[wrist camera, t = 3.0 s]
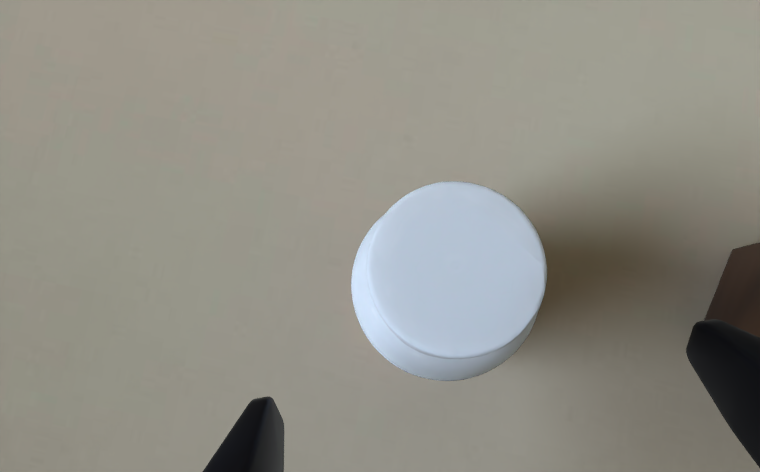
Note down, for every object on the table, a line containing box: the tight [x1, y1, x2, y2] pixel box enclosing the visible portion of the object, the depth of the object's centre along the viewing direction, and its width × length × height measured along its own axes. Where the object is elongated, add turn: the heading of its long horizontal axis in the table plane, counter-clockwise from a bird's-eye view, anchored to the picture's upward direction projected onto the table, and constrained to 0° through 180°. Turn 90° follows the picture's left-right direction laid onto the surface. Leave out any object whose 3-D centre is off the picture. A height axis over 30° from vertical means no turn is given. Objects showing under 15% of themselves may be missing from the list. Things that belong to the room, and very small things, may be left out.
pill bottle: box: [351, 181, 547, 381], centre depth 14 cm, size 5×5×10 cm
